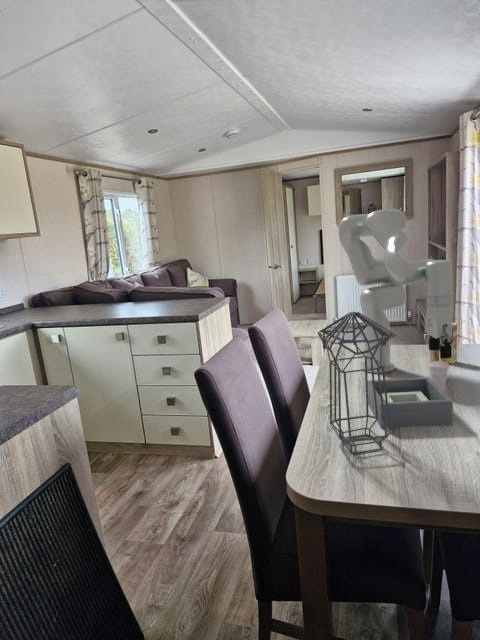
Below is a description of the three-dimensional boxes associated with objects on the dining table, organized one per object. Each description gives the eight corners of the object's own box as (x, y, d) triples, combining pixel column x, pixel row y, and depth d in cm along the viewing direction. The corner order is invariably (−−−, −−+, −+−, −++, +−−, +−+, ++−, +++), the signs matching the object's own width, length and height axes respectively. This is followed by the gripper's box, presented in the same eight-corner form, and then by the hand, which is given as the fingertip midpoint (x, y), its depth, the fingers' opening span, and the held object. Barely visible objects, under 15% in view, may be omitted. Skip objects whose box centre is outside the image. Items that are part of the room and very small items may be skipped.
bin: (366, 401, 139) (366, 380, 138) (428, 398, 137) (428, 377, 136) (381, 428, 121) (380, 404, 119) (452, 425, 119) (452, 401, 117)
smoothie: (451, 396, 138) (451, 353, 135) (429, 396, 139) (429, 353, 136) (446, 388, 144) (446, 347, 141) (425, 388, 145) (425, 348, 142)
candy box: (457, 361, 169) (457, 322, 165) (452, 364, 166) (453, 325, 163) (434, 358, 175) (434, 320, 172) (429, 360, 172) (429, 323, 169)
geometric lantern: (340, 463, 105) (331, 321, 99) (323, 435, 121) (314, 310, 114) (404, 454, 106) (398, 313, 100) (378, 427, 121) (372, 303, 115)
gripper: (417, 297, 144) (418, 348, 147) (436, 305, 127) (437, 362, 130) (441, 295, 143) (441, 346, 146) (463, 303, 126) (463, 360, 129)
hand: (439, 353), depth 138 cm, fingers open, 9 cm apart
